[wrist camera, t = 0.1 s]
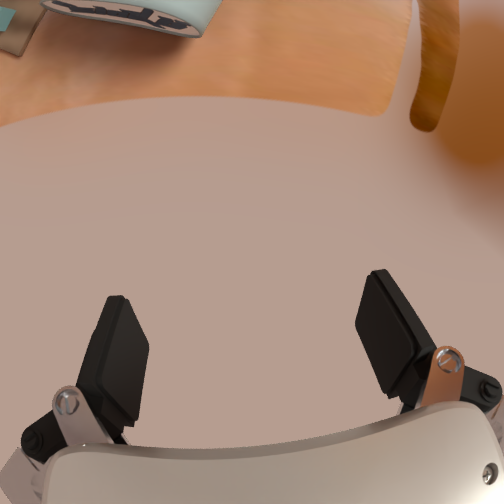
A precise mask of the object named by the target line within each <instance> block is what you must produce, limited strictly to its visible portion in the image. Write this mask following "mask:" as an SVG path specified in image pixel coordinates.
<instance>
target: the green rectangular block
mask: <svg viewBox="0 0 504 504" xmlns="http://www.w3.org/2000/svg"><path fill="white" fill-rule="evenodd" d="M15 12H16V10H13V9H9V8H5V7H1V6H0V31H6V29H7V27H8V25H9V23H10V21H11V19H12V17H13V15H14V14H15Z"/></svg>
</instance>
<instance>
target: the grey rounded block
mask: <svg viewBox="0 0 504 504" xmlns="http://www.w3.org/2000/svg"><path fill="white" fill-rule="evenodd" d="M222 1H223V0H41V1H40V3H39V5H41V6H42V7H44V8H46V9H48V10H51V11H54V12H57V13H61V14H65V15H70V16H75V17H81V18H88V19H95V20H101V21H108V22H114V23H120V24H126V25H131V26H137V27H142V28H146V29H151V30H156V31H160V32H164V33H169V34H173V35H178V36H183V37H189V38H200V37H202V35H203V33H204V31H205V29H206V28H207V26H208V24H209V22H210V21H211V19H212V17H213V15H214V14H215V12H216V10H217V9H218V7H219V6H220V4H221V2H222Z"/></svg>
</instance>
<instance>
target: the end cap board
mask: <svg viewBox="0 0 504 504" xmlns="http://www.w3.org/2000/svg"><path fill="white" fill-rule="evenodd" d="M40 1H41V0H0V6H1V7H5V8H9V9H13V10H16V12H15V14H14V15H13V17H12V19H11V21H10V23H9V25H8V27H7V29H6V31H0V49H3V50H5V51H7V52H10V53H12V54H14V55H17V56H22V55H23V53H24V50H25V48H26V46H27V44H28V42H29V40H30V39H31V37H32V35H33V33H34V31H35V29H36V27H37V26H38V24H39V22H40V20H41V19H42V17H43V15H44V14H45V12H46V11H47V9H46V8H44V7H42V6H41V5H39V3H40Z"/></svg>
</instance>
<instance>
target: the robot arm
mask: <svg viewBox="0 0 504 504" xmlns="http://www.w3.org/2000/svg"><path fill="white" fill-rule="evenodd" d="M355 327H356V330H357V332H358V335H359V337H360V339H361V341H362V344H363V346H364V348H365V351H366V353H367V355H368V358H369V360H370V362H371V365H372V367H373V370H374V372H375V375H376V377H377V380H378V382H379V384H380V387H381V390H382V392H383V393H384V394H387V396H388V399H391V398H394V397H397V396H399V398H400V400H401V404H400V407H399V409H398V412H397V415H396V416H394V417H391V418H388V419H385V420H381V421H378V422H375V423H372V424H368V425H365V426H361V427H357V428H354V429H350V430H346V431H342V432H338V433H333V434H329V435H325V436H319V437H314V438H309V439H304V440H298V441H292V442H285V443H278V444H270V445H262V446H251V447H239V448H218V449H176V448H156V447H141V446H132V445H131V444H130V443H129V441H128V440H127V438H126V437H125V435H124V434H123V430H124V426H129V427H134V423H135V421H137V420H138V417H139V411H140V403H141V396H142V389H143V383H144V376H145V370H146V364H147V359H148V353H149V343H148V341H147V338H146V336H145V334H144V332H143V330H142V328H141V326H140V324H139V322H138V320H137V318H136V315H135V313H134V311H133V309H132V306H131V304H130V302H129V300H128V299H125V298H124V296H122V295H118V296H109V297H108V298H107V300H106V303H105V305H104V308H103V311H102V313H101V316H100V318H99V321H98V324H97V326H96V329H95V330H94V332H93V334H92V336H91V340H90V342H89V345H88V348H87V351H86V354H85V357H84V360H83V363H82V366H81V370H80V373H79V376H78V379H77V383H76V386H65V387H62V388H61V389H59V390H58V391H57V392H56V394H55V395H54V398H53V401H52V408H53V410H51V411H50V412H49V413H47V414H46V415H44V416H43V417H42V418H40V419H39V420H37V421H36V422H34V423H33V424H32V425H30V426H29V427H27V428H26V429H25V430H24V432H23V434H22V437H21V446H22V448H19V447H18V448H17V449H16V450H15V452H14V453H13V455H12V456H11V458H10V459H9V460H8V462H7V463H6V464H5V466H4V467H3V469H2V470H1V472H0V487H1V488H2V490H3V492H4V493H5V494H6V496H7V497H8V499H9V500H10V501H11V503H12V504H504V395H503V394H502V388H501V385H500V383H499V382H498V381H497V380H496V379H495V378H493V377H491V376H489V375H487V374H484V373H482V372H479V371H477V370H474V369H472V368H470V367H467V366H465V364H464V359H463V356H462V355H461V353H460V352H459V351H458V350H457V349H455V348H453V347H451V346H441V347H439V348H438V349H437V347H436V345H435V344H434V342H433V340H432V339H431V337H430V335H429V333H428V332H427V330H426V329H425V327H424V325H423V324H422V322H421V321H420V319H419V318H418V316H417V314H416V313H415V311H414V309H413V308H412V306H411V305H410V303H409V302H408V300H407V299H406V297H405V296H404V294H403V293H402V292H401V290H400V288H399V287H398V285H397V284H396V283H395V281H394V280H393V278H392V277H391V275H390V274H389V272H388V271H387V270H386V269H382V270H375V271H372V272H371V274H370V275H368V276H367V279H366V283H365V287H364V291H363V295H362V298H361V302H360V306H359V309H358V313H357V316H356V320H355Z"/></svg>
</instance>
